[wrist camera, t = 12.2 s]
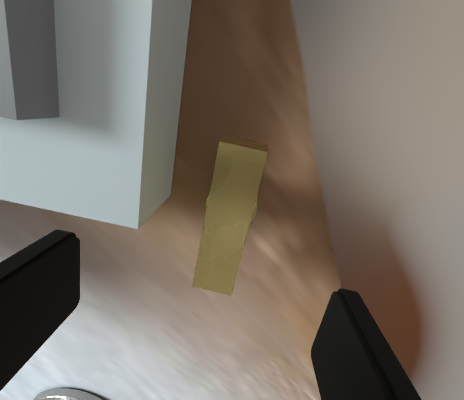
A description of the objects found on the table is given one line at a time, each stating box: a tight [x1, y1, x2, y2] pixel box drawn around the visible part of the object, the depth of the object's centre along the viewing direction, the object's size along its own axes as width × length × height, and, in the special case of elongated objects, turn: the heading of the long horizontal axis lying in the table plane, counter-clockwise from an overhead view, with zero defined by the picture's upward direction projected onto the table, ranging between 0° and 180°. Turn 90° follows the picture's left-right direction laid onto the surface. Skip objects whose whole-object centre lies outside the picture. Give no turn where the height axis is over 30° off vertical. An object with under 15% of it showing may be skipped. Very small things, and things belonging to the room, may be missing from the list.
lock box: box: [0, 0, 192, 229], centre depth 14 cm, size 18×16×8 cm
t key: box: [192, 136, 268, 295], centre depth 16 cm, size 3×8×7 cm, turn 168°
